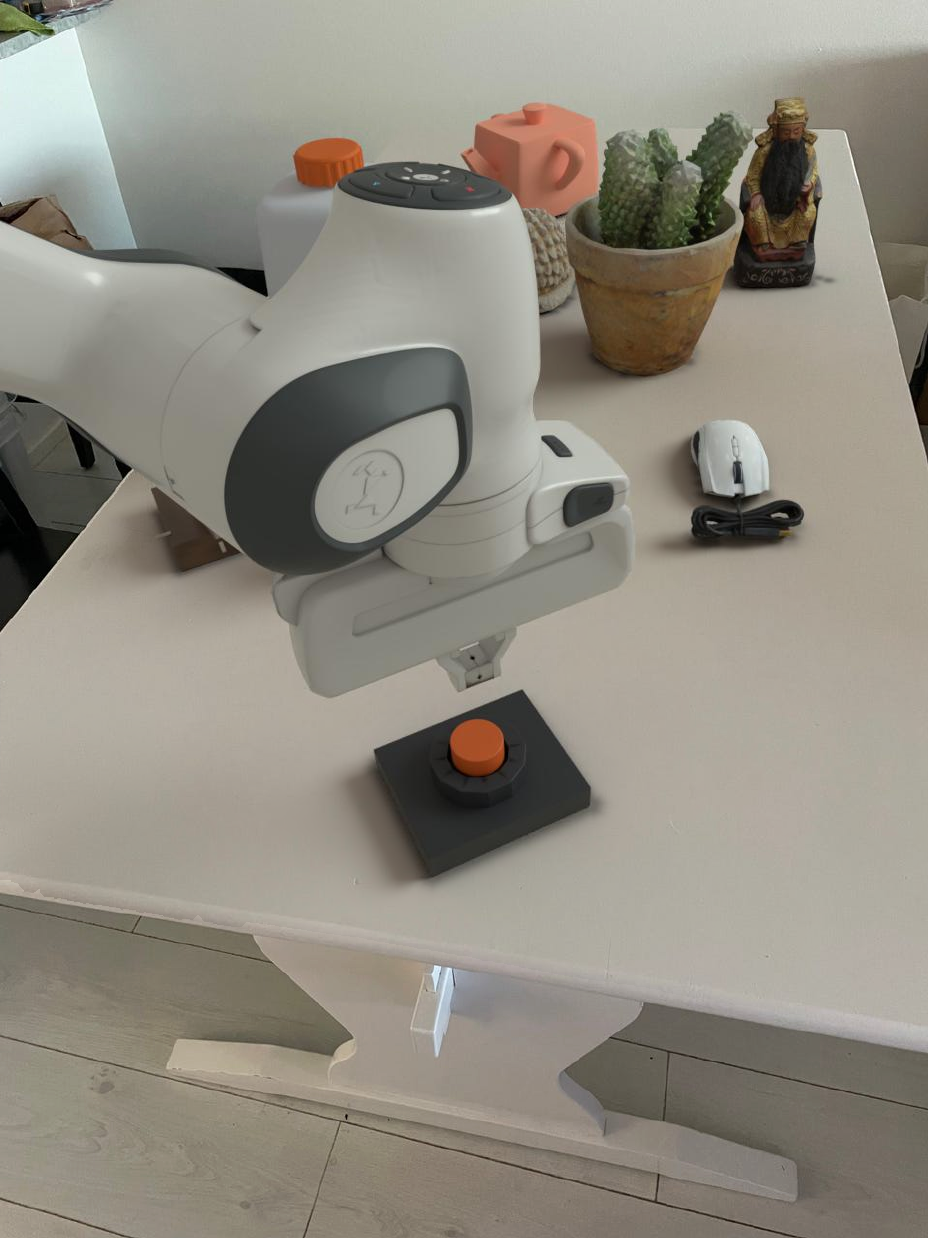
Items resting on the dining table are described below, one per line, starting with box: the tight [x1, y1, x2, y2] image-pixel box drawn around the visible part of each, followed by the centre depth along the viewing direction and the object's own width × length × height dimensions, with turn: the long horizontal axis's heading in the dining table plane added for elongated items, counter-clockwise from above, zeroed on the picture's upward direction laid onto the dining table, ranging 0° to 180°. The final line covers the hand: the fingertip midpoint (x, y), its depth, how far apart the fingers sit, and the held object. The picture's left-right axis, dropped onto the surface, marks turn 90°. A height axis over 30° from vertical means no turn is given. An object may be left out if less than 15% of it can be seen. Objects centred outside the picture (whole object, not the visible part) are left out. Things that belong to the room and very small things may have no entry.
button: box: [450, 719, 504, 777], centre depth 63 cm, size 4×4×2 cm
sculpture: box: [522, 208, 576, 314], centre depth 118 cm, size 12×17×10 cm
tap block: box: [150, 486, 241, 572], centre depth 87 cm, size 13×13×3 cm
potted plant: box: [564, 110, 755, 376], centre depth 99 cm, size 18×19×25 cm
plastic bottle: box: [255, 137, 377, 299], centre depth 90 cm, size 15×15×28 cm
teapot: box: [460, 102, 599, 217], centre depth 134 cm, size 20×22×14 cm
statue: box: [732, 96, 823, 288], centre depth 111 cm, size 12×8×20 cm, turn 81°
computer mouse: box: [690, 419, 805, 542], centre depth 87 cm, size 10×18×4 cm, turn 179°
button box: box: [373, 688, 592, 878], centre depth 64 cm, size 12×10×4 cm
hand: (474, 677), depth 57 cm, fingers closed
